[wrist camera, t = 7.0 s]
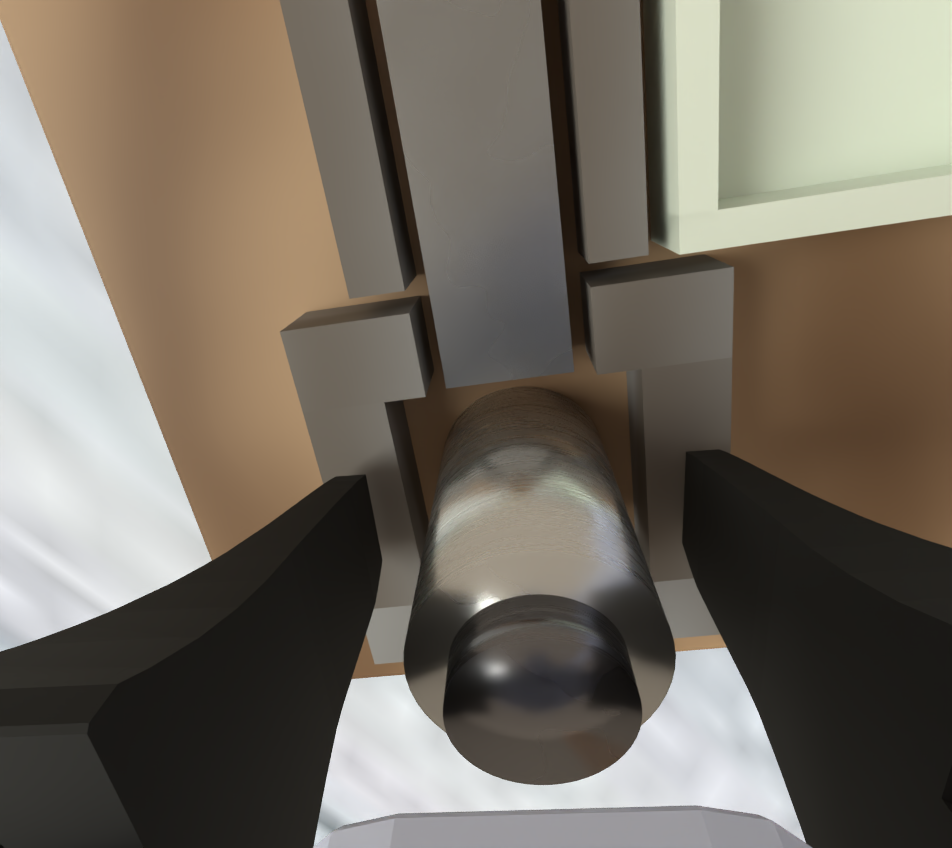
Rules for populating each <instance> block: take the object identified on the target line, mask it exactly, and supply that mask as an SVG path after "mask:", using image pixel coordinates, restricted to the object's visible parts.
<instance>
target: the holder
mask: <svg viewBox="0 0 952 848" xmlns="http://www.w3.org/2000/svg"><path fill="white" fill-rule="evenodd" d="M541 10H542V21H543V32H544V43H545V54H546V65H547V76H548V87H549V98H550V109H551V120H552V131H553V142H554V153H555V164H556V175H557V187H558V198H559V209H560V220H561V231H562V242H563V253H564V264H565V275H566V286H567V297H568V308H569V319H570V330H571V341H572V352H573V363H574V372H570V373H562V374H555V375H547V376H539V377H531V378H524V379H516V380H508V381H501V382H493V383H485V384H477V385H470V386H462V387H454V388H447V389H446V384H445V379H444V373H443V368H442V362H441V357H440V351H439V345H438V340H437V334H436V329H435V323H434V318H433V312H432V307H431V301H430V296H429V290H428V285H427V279H426V274H425V268H424V263H423V257H422V251H421V246H420V240H419V235H418V229H417V224H416V218H415V213H414V207H413V202H412V196H411V191H410V185H409V180H408V174H407V169H406V163H405V157H404V152H403V146H402V141H401V135H400V130H399V124H398V119H397V113H396V108H395V102H394V97H393V91H392V86H391V80H390V75H389V69H388V63H387V58H386V52H385V47H384V41H383V36H382V30H381V25H380V19H379V14H378V8H377V3H376V0H0V20H1V23H2V25H3V28H4V30H5V33H6V35H7V38H8V41H9V43H10V46H11V48H12V51H13V53H14V56H15V58H16V61H17V64H18V66H19V69H20V71H21V74H22V76H23V79H24V81H25V84H26V87H27V89H28V92H29V94H30V97H31V99H32V102H33V104H34V107H35V110H36V112H37V115H38V117H39V120H40V122H41V125H42V127H43V130H44V133H45V135H46V138H47V140H48V143H49V145H50V148H51V150H52V153H53V156H54V158H55V161H56V163H57V166H58V168H59V171H60V173H61V176H62V179H63V181H64V184H65V186H66V189H67V191H68V194H69V196H70V199H71V202H72V204H73V207H74V209H75V212H76V214H77V217H78V219H79V222H80V225H81V227H82V230H83V232H84V235H85V237H86V240H87V242H88V245H89V248H90V250H91V253H92V255H93V258H94V260H95V263H96V265H97V268H98V271H99V273H100V276H101V278H102V281H103V283H104V286H105V288H106V291H107V294H108V296H109V299H110V301H111V304H112V306H113V309H114V311H115V314H116V316H117V319H118V322H119V324H120V327H121V329H122V332H123V334H124V337H125V339H126V342H127V345H128V347H129V350H130V352H131V355H132V357H133V360H134V362H135V365H136V368H137V370H138V373H139V375H140V378H141V380H142V383H143V385H144V388H145V391H146V393H147V396H148V398H149V401H150V403H151V406H152V408H153V411H154V414H155V416H156V419H157V421H158V424H159V426H160V429H161V431H162V434H163V437H164V439H165V442H166V444H167V447H168V449H169V452H170V454H171V457H172V460H173V462H174V465H175V467H176V470H177V472H178V475H179V477H180V480H181V483H182V485H183V488H184V490H185V493H186V495H187V498H188V500H189V503H190V506H191V508H192V511H193V513H194V516H195V518H196V521H197V523H198V526H199V529H200V531H201V534H202V536H203V539H204V541H205V544H206V546H207V549H208V552H209V554H210V557H211V559H212V560H214V559H216V558H217V557H219V556H221V555H222V554H224V553H226V552H227V551H229V550H230V549H232V548H233V547H235V546H236V545H238V544H239V543H241V542H242V541H244V540H245V539H247V538H248V537H250V536H251V535H253V534H254V533H256V532H257V531H259V530H260V529H262V528H263V527H265V526H266V525H268V524H269V523H270V522H272V521H273V520H275V519H276V518H277V517H279V516H280V515H281V514H283V513H284V512H285V511H287V510H288V509H290V508H291V507H292V506H294V505H295V504H296V503H298V502H299V501H300V500H302V499H303V498H304V497H306V496H307V495H309V494H310V493H311V492H313V491H314V490H315V489H317V488H318V487H320V486H321V485H323V484H324V483H326V482H327V481H329V480H330V479H332V478H334V477H336V476H350V475H364V474H366V478H367V483H368V488H369V493H370V499H371V504H372V509H373V514H374V519H375V524H376V529H377V534H378V540H379V545H380V550H381V555H382V560H383V561H382V567H381V574H380V580H379V586H378V592H377V597H376V603H375V607H374V610H373V613H372V617H371V620H370V623H369V626H368V629H367V632H366V636H365V639H364V642H363V645H362V648H361V651H360V654H359V657H358V660H357V663H356V667H355V670H354V673H353V676H352V679H356V678H368V677H380V676H391V675H403V674H405V670H404V654H403V651H404V645H405V639H406V634H407V629H408V624H409V619H410V614H411V609H412V604H413V600H414V595H415V590H416V585H417V580H418V575H419V570H420V565H421V560H422V555H423V550H424V545H425V540H426V535H427V530H428V525H429V520H430V515H431V510H432V505H433V500H434V495H435V490H436V485H437V480H438V475H439V470H440V465H441V460H442V456H443V451H444V446H445V442H446V439H447V435H448V433H449V431H450V429H451V427H452V425H453V424H454V422H455V421H456V419H457V418H458V416H459V415H460V414H461V413H462V412H463V411H464V410H465V409H466V408H467V407H468V406H470V405H471V404H472V403H473V402H475V401H476V400H478V399H480V398H481V397H483V396H485V395H487V394H489V393H492V392H495V391H498V390H501V389H505V388H511V387H522V386H526V387H537V388H543V389H547V390H550V391H553V392H556V393H559V394H561V395H563V396H565V397H567V398H568V399H570V400H571V401H573V402H575V403H576V404H577V405H578V406H579V407H581V408H582V409H583V410H584V411H585V413H586V414H587V415H588V416H589V417H590V419H591V420H592V422H593V423H594V425H595V427H596V429H597V431H598V433H599V435H600V438H601V441H602V443H603V446H604V449H605V452H606V454H607V457H608V460H609V463H610V465H611V468H612V471H613V473H614V476H615V479H616V482H617V484H618V487H619V490H620V493H621V495H622V498H623V501H624V503H625V506H626V509H627V512H628V514H629V517H630V520H631V523H632V525H633V528H634V531H635V533H636V536H637V539H638V542H639V544H640V547H641V550H642V552H643V555H644V558H645V561H646V563H647V566H648V569H649V572H650V574H651V577H652V580H653V582H654V585H655V588H656V591H657V593H658V596H659V599H660V602H661V604H662V607H663V610H664V612H665V615H666V618H667V621H668V623H669V626H670V629H671V632H672V636H673V639H674V644H675V652H676V651H688V650H700V649H712V648H724V647H727V646H726V644H725V643H724V641H723V639H722V637H721V635H720V633H719V631H718V629H717V627H716V625H715V623H714V621H713V619H712V617H711V615H710V613H709V611H708V609H707V607H706V605H705V603H704V601H703V599H702V597H701V595H700V593H699V590H698V588H697V586H696V583H695V581H694V578H693V575H692V572H691V569H690V566H689V563H688V560H687V557H686V554H685V551H684V547H683V544H682V529H683V507H684V484H685V461H686V452H688V451H702V450H716V449H720V450H722V451H725V452H728V453H730V454H732V455H734V456H736V457H739V458H741V459H743V460H745V461H747V462H749V463H751V464H753V465H755V466H757V467H758V468H760V469H762V470H764V471H766V472H768V473H770V474H772V475H774V476H776V477H778V478H780V479H782V480H784V481H786V482H788V483H790V484H792V485H794V486H796V487H798V488H800V489H802V490H804V491H806V492H808V493H810V494H813V495H815V496H817V497H819V498H821V499H823V500H825V501H828V502H830V503H832V504H834V505H837V506H839V507H841V508H844V509H846V510H848V511H851V512H853V513H855V514H857V515H860V516H862V517H865V518H867V519H870V520H872V521H875V522H877V523H880V524H883V525H885V526H888V527H891V528H894V529H897V530H899V531H902V532H905V533H908V534H911V535H914V536H916V537H919V538H922V539H925V540H928V541H931V542H934V543H937V544H941V545H944V546H947V547H950V548H952V215H949V216H942V217H935V218H928V219H921V220H915V221H908V222H901V223H894V224H887V225H880V226H873V227H867V228H860V229H853V230H846V231H839V232H832V233H825V234H819V235H812V236H805V237H798V238H791V239H784V240H777V241H771V242H764V243H757V244H750V245H743V246H736V247H729V248H723V249H716V250H709V251H702V252H695V253H688V254H681V255H679V254H677V253H675V252H673V251H671V250H669V249H667V248H665V247H663V246H661V245H659V244H657V243H655V242H653V241H651V226H650V197H649V168H648V139H647V109H646V80H645V51H644V22H643V0H541Z"/></svg>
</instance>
